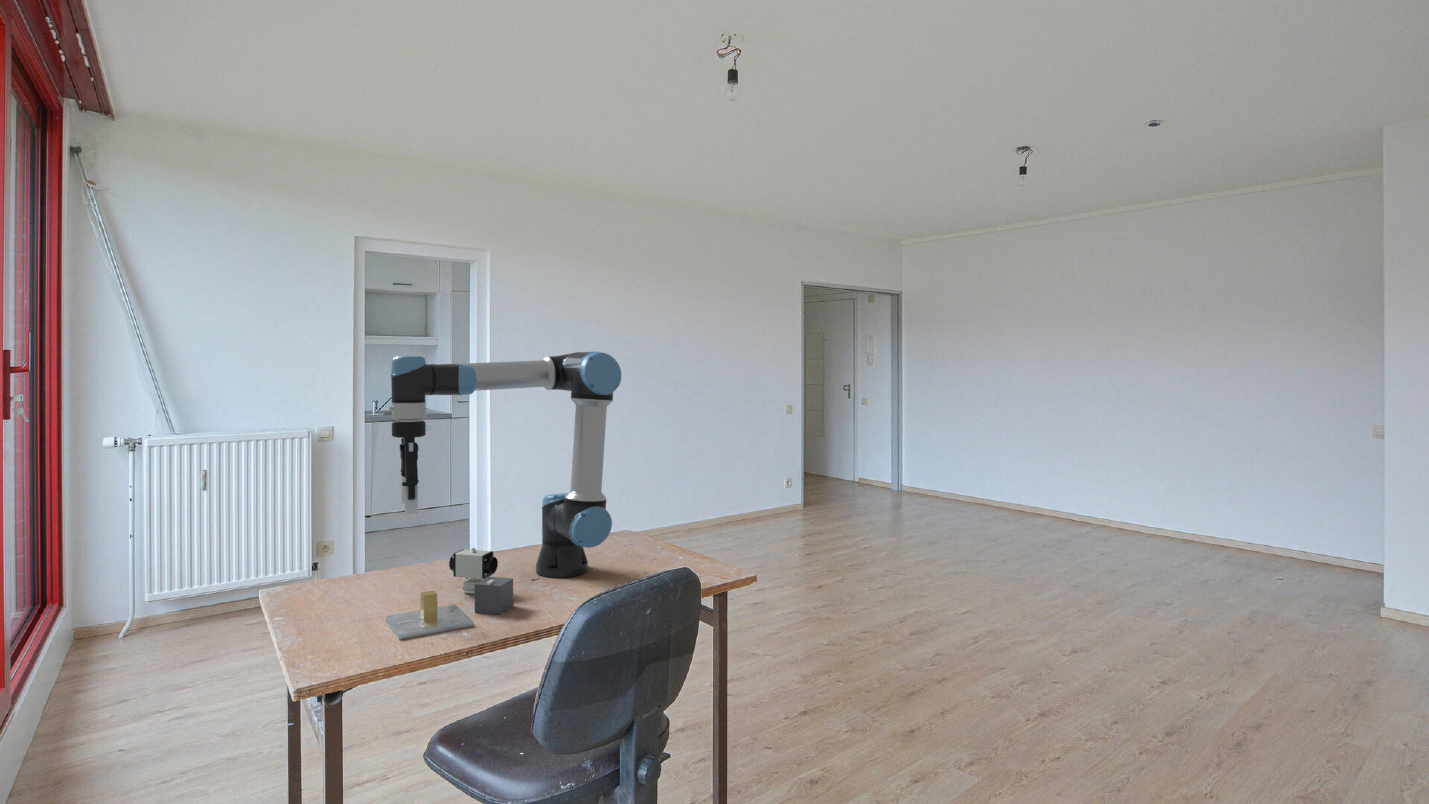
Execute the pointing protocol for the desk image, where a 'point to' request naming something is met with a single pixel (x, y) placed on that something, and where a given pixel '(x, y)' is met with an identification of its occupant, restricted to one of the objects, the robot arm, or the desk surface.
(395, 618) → the grey peg base
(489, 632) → the desk surface
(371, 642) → the desk surface
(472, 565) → the pneumatic valve
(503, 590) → the grey cabinet with handle
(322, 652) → the desk surface
